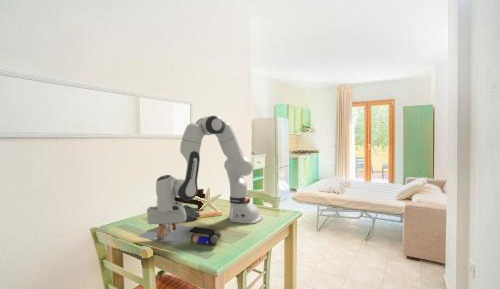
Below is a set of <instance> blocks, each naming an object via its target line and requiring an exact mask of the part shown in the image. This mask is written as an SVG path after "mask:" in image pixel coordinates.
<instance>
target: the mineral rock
mask: <svg viewBox="0 0 500 289" xmlns="http://www.w3.org/2000/svg"><path fill="white" fill-rule="evenodd" d="M183 208H184V209H185V212H186V221H191V220H194V219H197V218H200V217H201V214H200V212H198V211H196V210H195V208H194V207H192V206H190V205H189V204H185V205H183Z"/></svg>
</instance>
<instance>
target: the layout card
mask: <svg viewBox="0 0 500 289" xmlns="http://www.w3.org/2000/svg"><path fill="white" fill-rule="evenodd" d="M192 228H194V227H192V226H188V225H182V224H179V223H176V230H172V231H171V232H169V233H168V234H166V233H165V236H163V235H162V238H161V239H159V240H157V227H154V228H153V229H151V230H148V231H145V232H144V233H141V234H139V235H138V237H139V238H143V239H147V240H151V241H154V242H155V241H156V242H159V243H163V244H167V245H169V246H170V245H171V246H174V247H177V246H178V245H180V244H182V243H183V242H186V241H187V240H189V239H190V238H191V235H192V234H193V233H192V232H189V231H190V230H191V229H192ZM165 229H166V228H165Z"/></svg>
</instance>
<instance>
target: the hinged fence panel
mask: <svg viewBox="0 0 500 289" xmlns="http://www.w3.org/2000/svg"><path fill="white" fill-rule="evenodd" d="M167 226H168V225H167ZM156 228H157V240H159V239H161V238H162V235H163V236H165V233H166V234H168V233H169V232H171V231H172V229H173V225H170V231H166V229H165V226H164V224H162V226H159V225H158V226H157V227H156Z"/></svg>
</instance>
